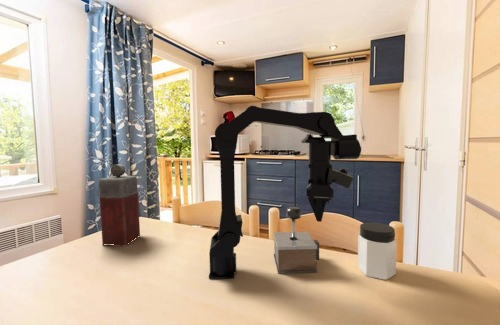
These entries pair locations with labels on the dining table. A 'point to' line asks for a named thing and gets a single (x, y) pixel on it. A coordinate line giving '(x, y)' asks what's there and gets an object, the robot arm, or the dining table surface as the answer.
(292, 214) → the plunger
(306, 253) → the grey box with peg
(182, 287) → the dining table surface
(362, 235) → the jar
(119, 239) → the red canister
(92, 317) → the dining table surface
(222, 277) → the robot arm
